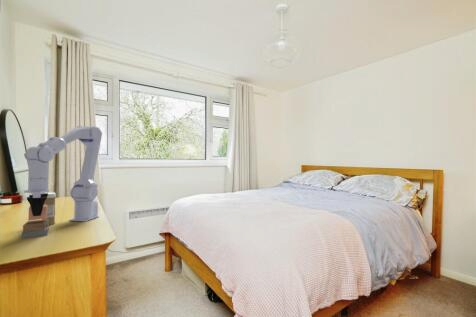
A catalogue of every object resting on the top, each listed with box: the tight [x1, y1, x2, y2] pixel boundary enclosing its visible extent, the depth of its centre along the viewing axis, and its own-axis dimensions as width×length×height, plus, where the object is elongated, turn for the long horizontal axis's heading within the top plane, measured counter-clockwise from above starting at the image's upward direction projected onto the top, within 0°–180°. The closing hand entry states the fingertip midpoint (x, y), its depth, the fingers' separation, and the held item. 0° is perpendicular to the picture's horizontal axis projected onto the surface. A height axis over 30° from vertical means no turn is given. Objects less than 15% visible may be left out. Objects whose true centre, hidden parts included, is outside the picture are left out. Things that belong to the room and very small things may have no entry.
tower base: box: [21, 225, 50, 239], centre depth 85 cm, size 7×7×2 cm
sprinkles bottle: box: [41, 192, 57, 226], centre depth 98 cm, size 5×5×14 cm
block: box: [27, 205, 47, 222], centre depth 86 cm, size 5×5×4 cm
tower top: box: [22, 219, 50, 232], centre depth 85 cm, size 6×6×2 cm
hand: (37, 214), depth 86 cm, fingers closed on block, 5 cm apart
